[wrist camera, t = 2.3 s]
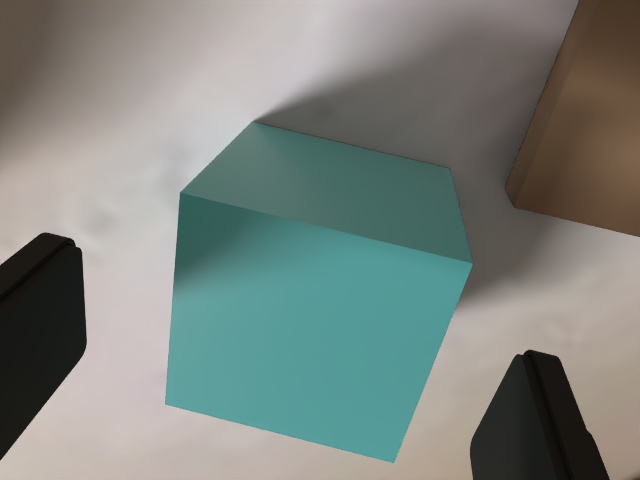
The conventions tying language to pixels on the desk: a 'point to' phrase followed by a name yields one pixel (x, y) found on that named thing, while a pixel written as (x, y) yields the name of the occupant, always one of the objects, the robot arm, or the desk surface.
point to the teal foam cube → (313, 288)
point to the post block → (587, 125)
